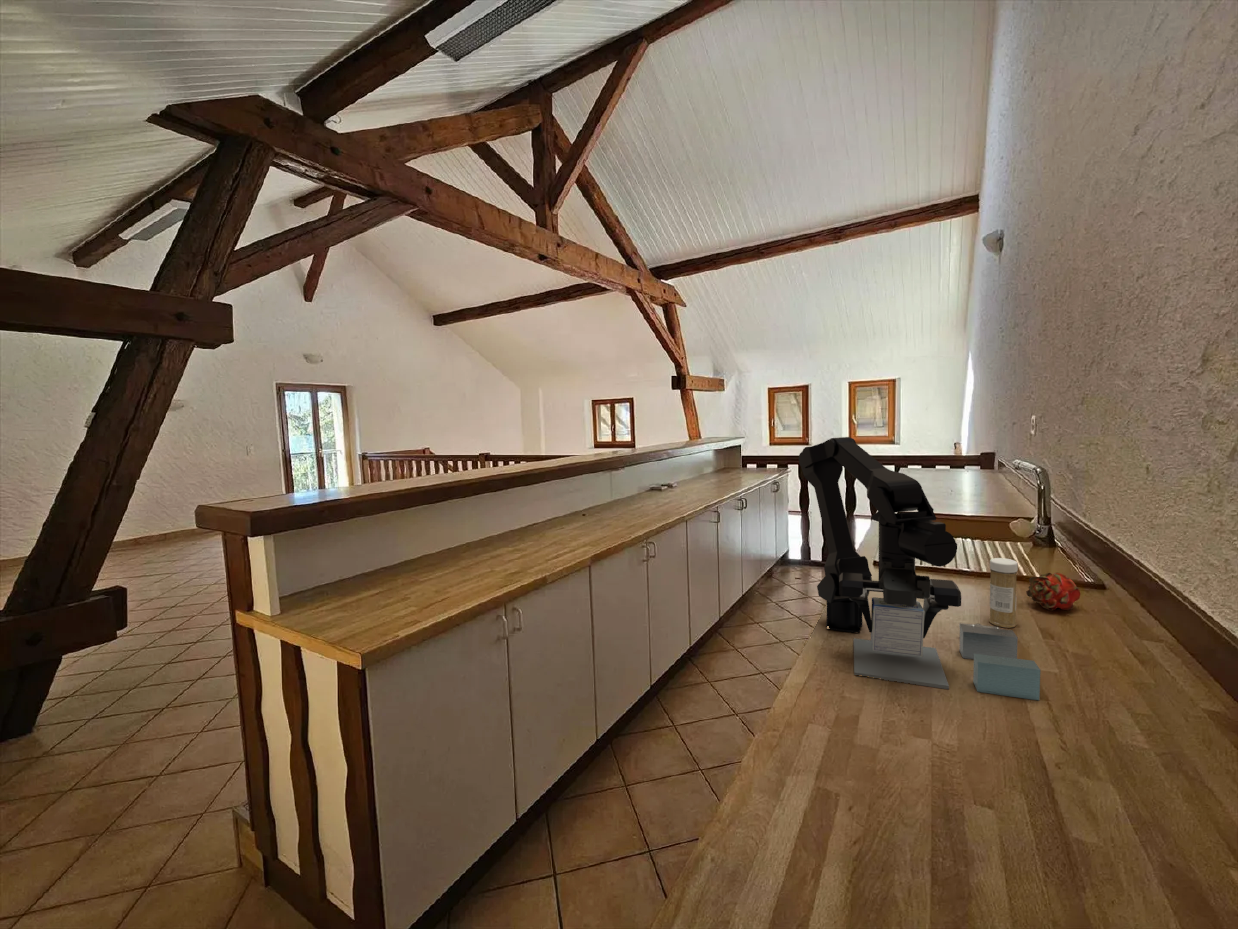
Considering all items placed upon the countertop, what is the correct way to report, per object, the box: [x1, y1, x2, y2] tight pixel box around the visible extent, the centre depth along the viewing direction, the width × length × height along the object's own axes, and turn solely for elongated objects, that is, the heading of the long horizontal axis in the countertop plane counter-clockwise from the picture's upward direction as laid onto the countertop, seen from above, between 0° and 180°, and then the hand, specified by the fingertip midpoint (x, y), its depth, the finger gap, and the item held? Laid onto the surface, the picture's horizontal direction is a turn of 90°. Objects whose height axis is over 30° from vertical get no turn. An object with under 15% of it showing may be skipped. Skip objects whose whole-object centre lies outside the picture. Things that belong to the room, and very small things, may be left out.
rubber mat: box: [853, 637, 950, 690], centre depth 93 cm, size 14×14×1 cm
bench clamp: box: [958, 622, 1041, 701], centre depth 91 cm, size 8×21×5 cm, turn 156°
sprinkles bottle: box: [988, 557, 1019, 629], centre depth 106 cm, size 5×5×14 cm
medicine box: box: [870, 597, 925, 657], centre depth 93 cm, size 8×4×9 cm, turn 70°
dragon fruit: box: [1025, 572, 1081, 612], centre depth 113 cm, size 8×8×12 cm
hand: (896, 634), depth 93 cm, fingers closed on medicine box, 8 cm apart
